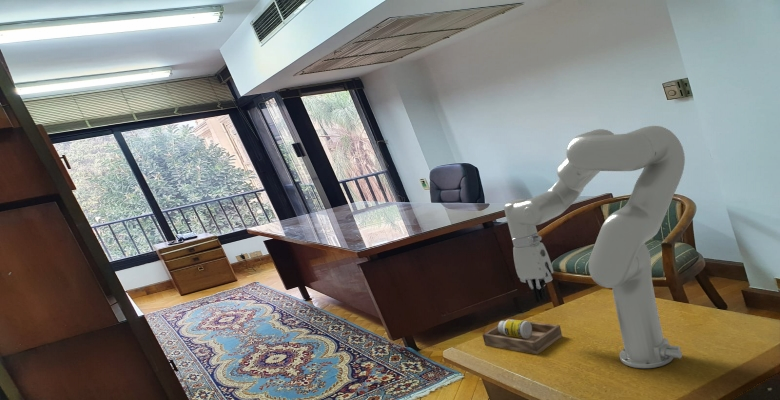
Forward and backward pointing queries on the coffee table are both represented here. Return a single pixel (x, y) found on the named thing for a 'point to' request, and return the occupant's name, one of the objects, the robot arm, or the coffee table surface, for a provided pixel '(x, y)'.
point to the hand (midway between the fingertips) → (541, 300)
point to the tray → (534, 344)
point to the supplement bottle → (515, 328)
